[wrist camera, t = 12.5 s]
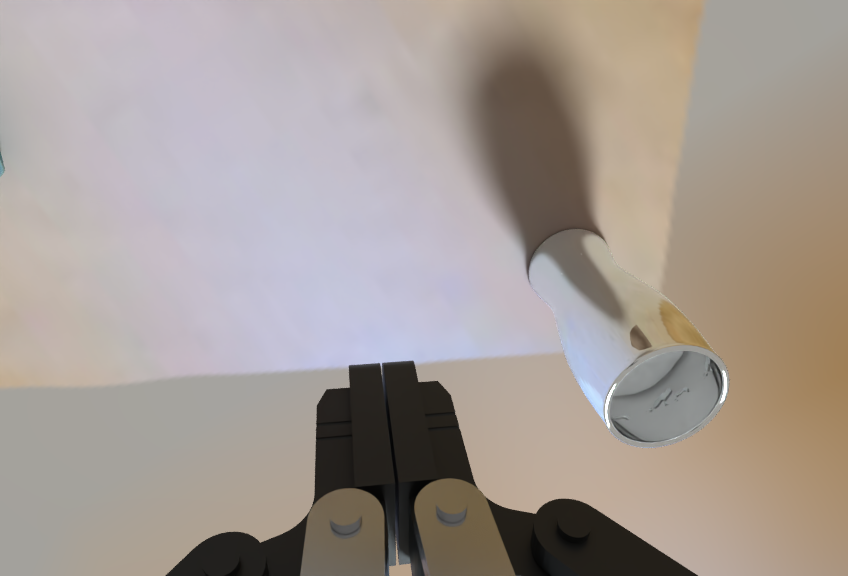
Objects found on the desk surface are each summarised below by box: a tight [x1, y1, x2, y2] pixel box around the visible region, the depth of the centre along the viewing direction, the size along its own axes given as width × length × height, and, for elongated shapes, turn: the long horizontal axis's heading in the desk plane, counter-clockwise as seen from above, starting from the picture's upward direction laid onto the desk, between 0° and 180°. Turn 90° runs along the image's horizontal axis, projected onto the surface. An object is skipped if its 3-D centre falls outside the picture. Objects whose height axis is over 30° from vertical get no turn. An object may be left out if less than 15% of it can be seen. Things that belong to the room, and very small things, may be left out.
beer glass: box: [529, 229, 729, 448], centre depth 36 cm, size 7×7×15 cm
